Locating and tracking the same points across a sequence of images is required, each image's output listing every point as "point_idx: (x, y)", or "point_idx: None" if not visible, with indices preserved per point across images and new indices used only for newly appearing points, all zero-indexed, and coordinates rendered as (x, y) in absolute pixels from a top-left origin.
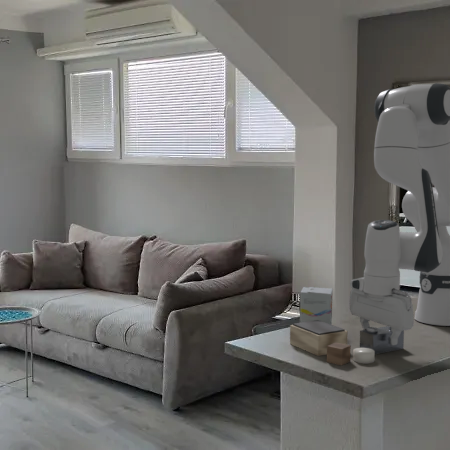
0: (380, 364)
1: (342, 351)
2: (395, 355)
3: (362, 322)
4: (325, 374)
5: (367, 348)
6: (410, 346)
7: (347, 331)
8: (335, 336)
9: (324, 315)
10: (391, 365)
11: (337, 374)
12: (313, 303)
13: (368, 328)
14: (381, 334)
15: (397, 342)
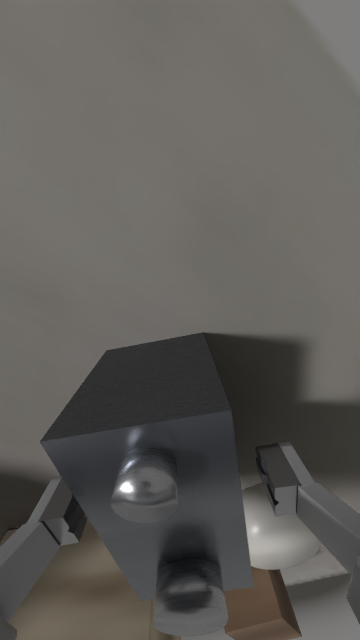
0: (323, 484)
1: (294, 617)
2: (271, 409)
3: (9, 618)
4: (307, 581)
5: (263, 536)
6: (178, 272)
7: (148, 637)
8: (165, 633)
9: None
10: (352, 465)
11: (322, 569)
12: None
13: (190, 633)
14: (247, 551)
15: (293, 448)
